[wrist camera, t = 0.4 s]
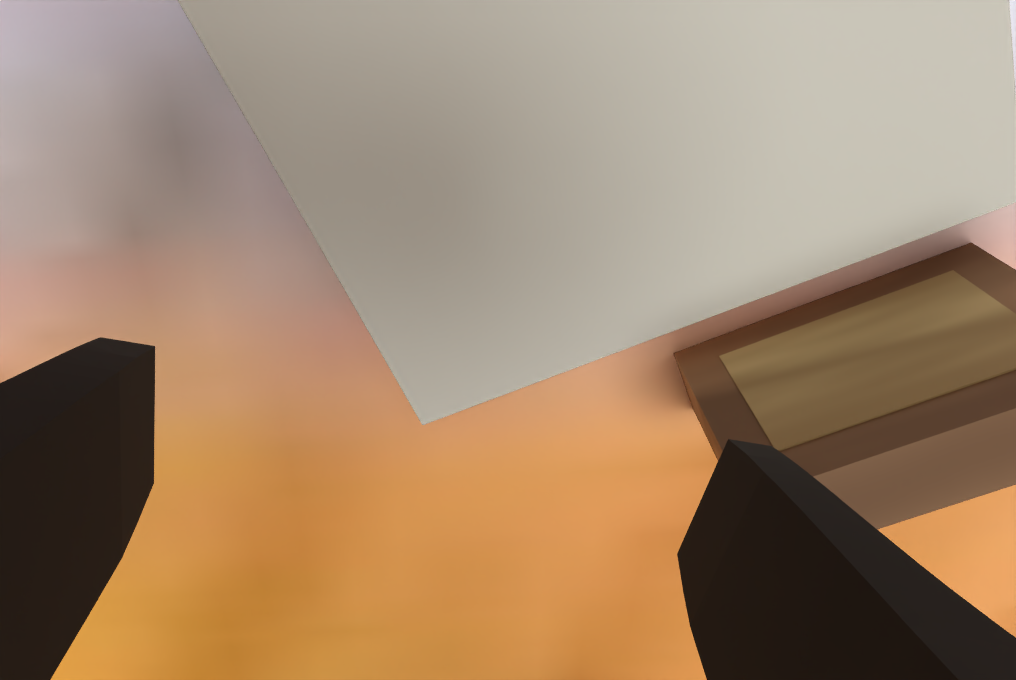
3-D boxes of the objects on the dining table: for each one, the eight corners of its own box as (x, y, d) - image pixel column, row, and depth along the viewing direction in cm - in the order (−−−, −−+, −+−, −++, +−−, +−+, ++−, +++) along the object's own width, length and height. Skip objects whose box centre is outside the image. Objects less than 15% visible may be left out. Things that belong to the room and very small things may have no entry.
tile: (977, 305, 20) (1158, 438, 15) (692, 407, 21) (767, 564, 16) (969, 240, 19) (1160, 357, 14) (672, 350, 20) (746, 497, 15)
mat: (1009, 193, 19) (1022, 200, 18) (423, 415, 21) (422, 425, 20) (934, -764, 11) (954, -792, 11) (37, -262, 13) (23, -269, 13)
